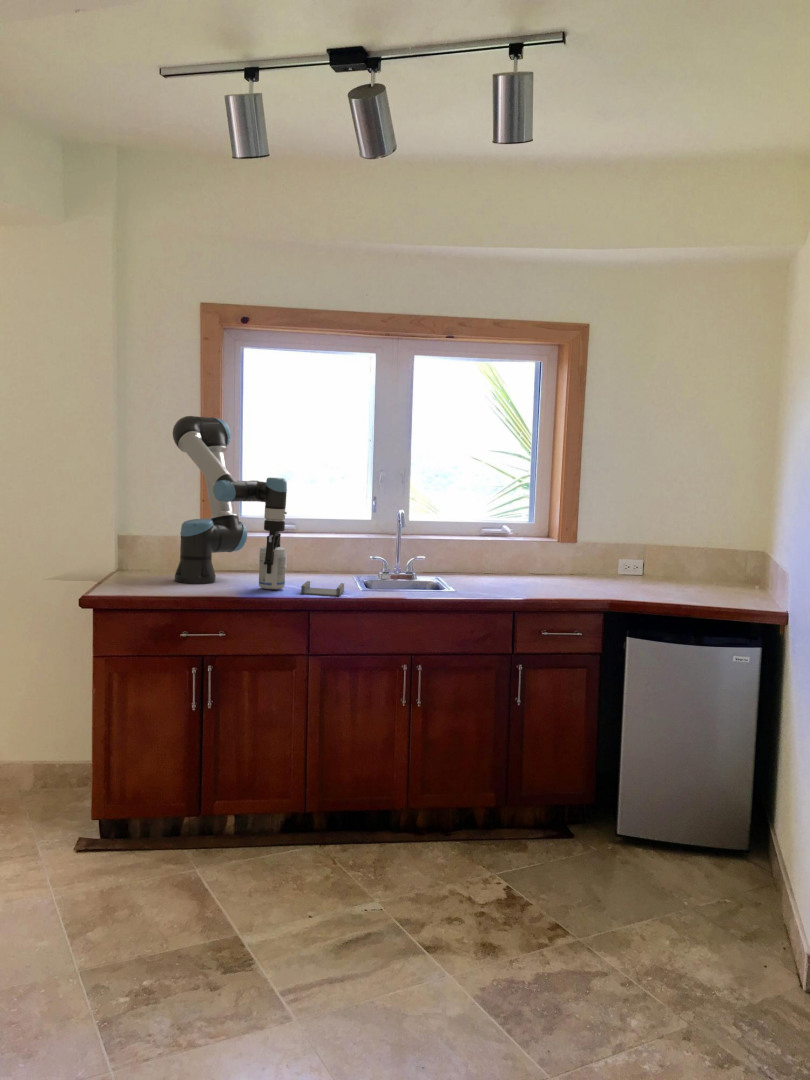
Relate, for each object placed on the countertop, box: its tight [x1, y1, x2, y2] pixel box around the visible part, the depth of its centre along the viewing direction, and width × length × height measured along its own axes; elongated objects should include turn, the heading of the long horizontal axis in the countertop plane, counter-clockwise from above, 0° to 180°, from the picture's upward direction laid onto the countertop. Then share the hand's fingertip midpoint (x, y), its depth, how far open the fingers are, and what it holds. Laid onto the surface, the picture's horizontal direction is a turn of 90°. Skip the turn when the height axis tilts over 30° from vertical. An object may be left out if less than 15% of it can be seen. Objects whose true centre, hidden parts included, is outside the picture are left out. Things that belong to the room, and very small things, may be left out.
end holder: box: [300, 580, 345, 598], centre depth 330 cm, size 14×13×3 cm
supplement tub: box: [258, 546, 287, 590], centre depth 331 cm, size 10×10×15 cm
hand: (271, 580), depth 332 cm, fingers closed on supplement tub, 9 cm apart
